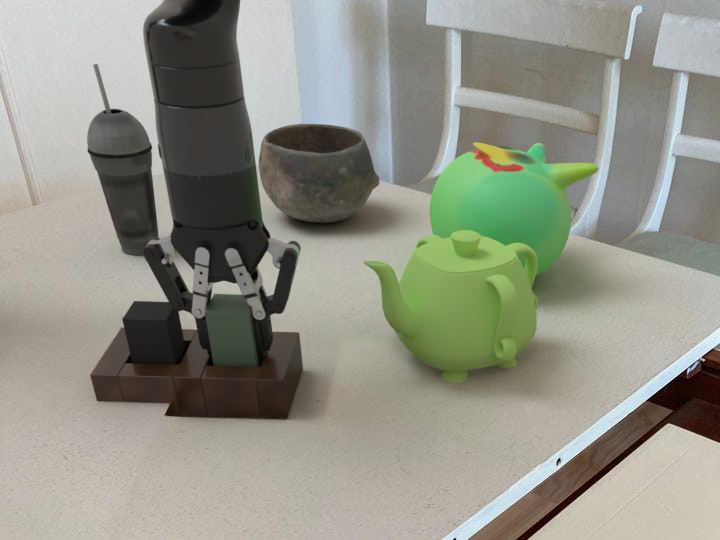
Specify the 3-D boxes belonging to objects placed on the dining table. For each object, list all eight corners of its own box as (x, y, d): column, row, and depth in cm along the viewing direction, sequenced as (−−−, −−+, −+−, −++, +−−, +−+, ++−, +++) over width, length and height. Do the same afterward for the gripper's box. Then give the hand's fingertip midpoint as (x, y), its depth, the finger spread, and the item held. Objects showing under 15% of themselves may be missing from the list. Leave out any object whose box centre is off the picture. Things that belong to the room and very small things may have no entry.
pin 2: (218, 392, 92) (204, 311, 87) (226, 373, 95) (213, 293, 90) (260, 394, 92) (249, 312, 87) (267, 374, 95) (257, 294, 90)
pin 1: (140, 399, 93) (121, 319, 88) (151, 379, 96) (134, 300, 90) (182, 400, 93) (166, 320, 88) (192, 380, 96) (177, 301, 91)
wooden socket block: (100, 414, 91) (89, 374, 88) (130, 364, 98) (121, 327, 95) (287, 419, 91) (283, 380, 88) (303, 369, 98) (299, 332, 96)
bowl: (263, 201, 135) (254, 122, 128) (374, 197, 137) (371, 119, 130) (265, 238, 125) (255, 154, 118) (385, 232, 127) (382, 150, 120)
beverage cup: (139, 264, 117) (100, 76, 104) (97, 251, 120) (53, 67, 107) (183, 245, 122) (151, 64, 108) (141, 233, 125) (104, 55, 111)
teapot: (505, 409, 93) (512, 279, 85) (368, 384, 96) (361, 256, 88) (547, 339, 105) (557, 218, 96) (424, 318, 108) (422, 199, 99)
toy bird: (410, 256, 121) (407, 127, 111) (532, 240, 126) (540, 115, 116) (466, 313, 109) (468, 174, 99) (598, 293, 114) (613, 159, 104)
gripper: (301, 146, 83) (318, 337, 95) (134, 141, 83) (172, 333, 94) (287, 174, 77) (307, 373, 89) (108, 169, 77) (152, 369, 89)
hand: (237, 351), depth 92 cm, fingers closed on pin 2, 4 cm apart
